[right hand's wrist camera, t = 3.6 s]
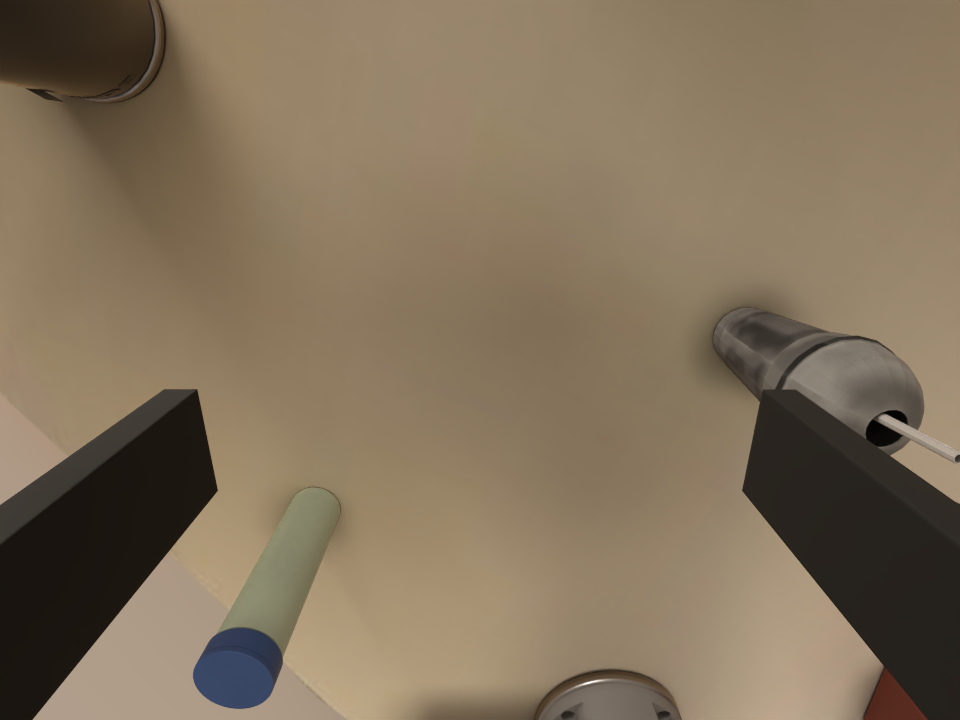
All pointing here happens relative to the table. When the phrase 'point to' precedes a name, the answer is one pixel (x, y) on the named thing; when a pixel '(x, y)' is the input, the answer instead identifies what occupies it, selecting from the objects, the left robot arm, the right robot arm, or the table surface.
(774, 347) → the beverage cup
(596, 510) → the table surface
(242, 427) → the table surface
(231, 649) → the lid
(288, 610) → the bottle
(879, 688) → the bucket
